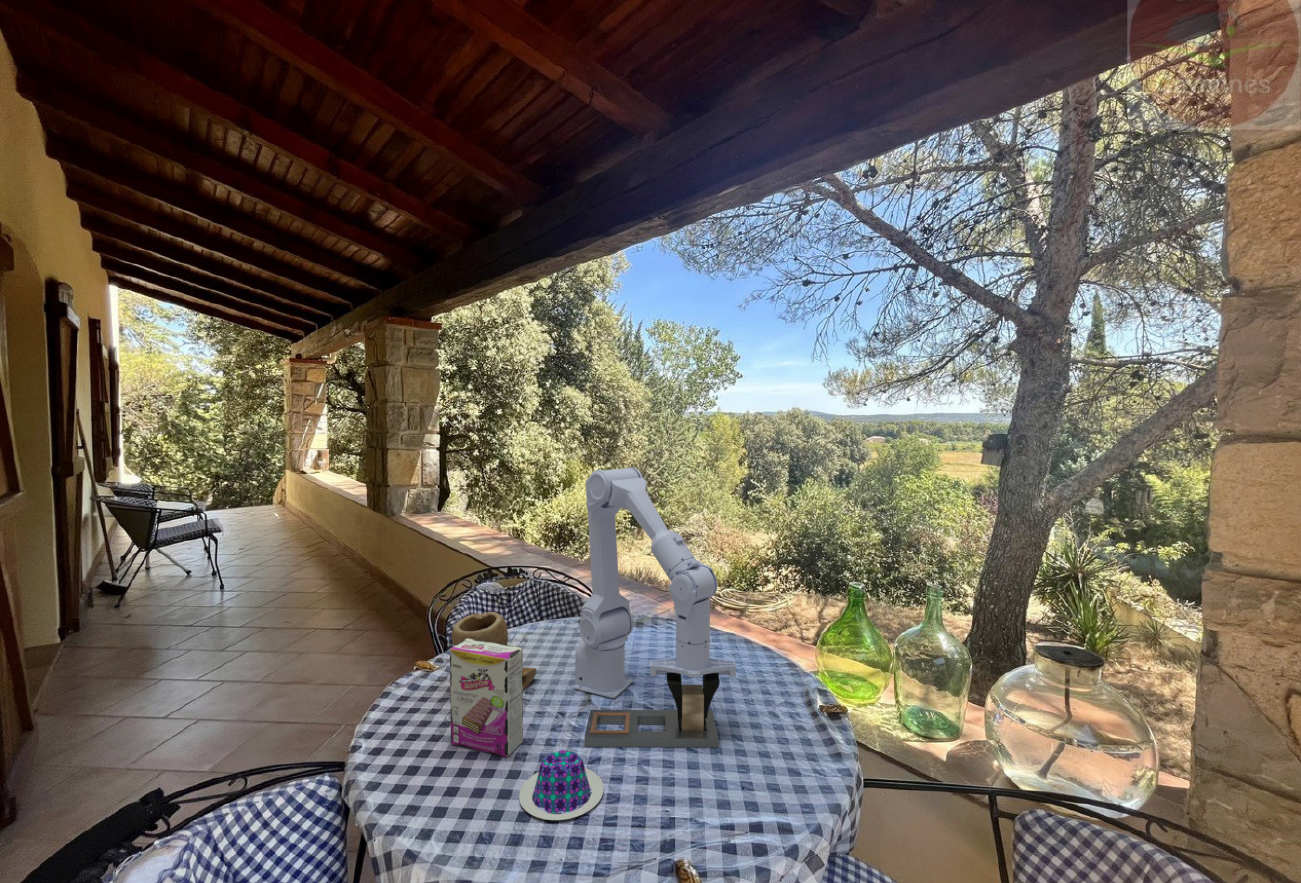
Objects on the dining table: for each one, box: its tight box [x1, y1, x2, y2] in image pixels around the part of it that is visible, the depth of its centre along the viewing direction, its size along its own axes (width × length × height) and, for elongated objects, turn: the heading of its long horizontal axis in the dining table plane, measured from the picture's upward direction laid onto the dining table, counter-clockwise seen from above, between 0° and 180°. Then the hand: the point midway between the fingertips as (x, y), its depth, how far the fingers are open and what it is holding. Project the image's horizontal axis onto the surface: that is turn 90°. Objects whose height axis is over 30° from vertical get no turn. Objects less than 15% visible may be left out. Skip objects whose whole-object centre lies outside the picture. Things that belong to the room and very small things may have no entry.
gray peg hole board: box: [583, 709, 720, 748], centre depth 99 cm, size 22×9×2 cm, turn 90°
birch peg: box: [680, 684, 705, 731], centre depth 99 cm, size 4×4×7 cm
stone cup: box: [451, 611, 538, 690], centre depth 114 cm, size 15×12×15 cm
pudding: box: [518, 749, 605, 821], centre depth 83 cm, size 12×12×5 cm
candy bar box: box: [449, 638, 524, 758], centre depth 95 cm, size 11×5×16 cm, turn 71°
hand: (692, 715), depth 99 cm, fingers closed on birch peg, 4 cm apart
